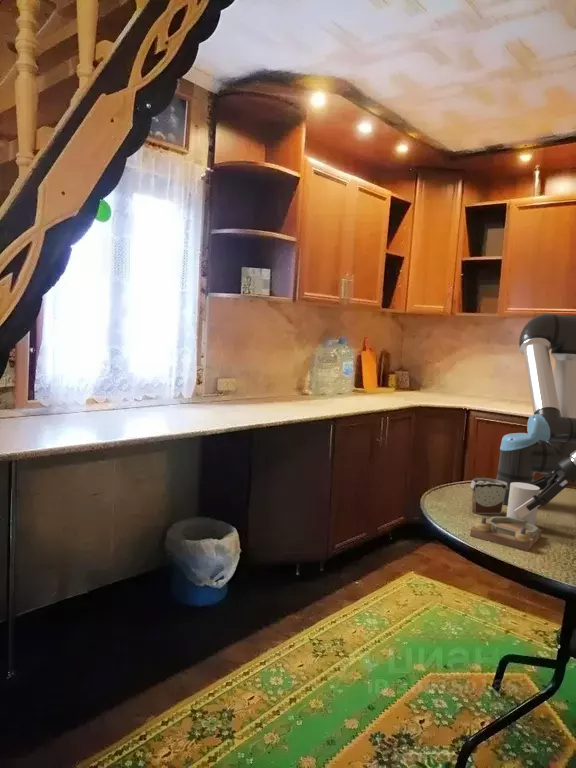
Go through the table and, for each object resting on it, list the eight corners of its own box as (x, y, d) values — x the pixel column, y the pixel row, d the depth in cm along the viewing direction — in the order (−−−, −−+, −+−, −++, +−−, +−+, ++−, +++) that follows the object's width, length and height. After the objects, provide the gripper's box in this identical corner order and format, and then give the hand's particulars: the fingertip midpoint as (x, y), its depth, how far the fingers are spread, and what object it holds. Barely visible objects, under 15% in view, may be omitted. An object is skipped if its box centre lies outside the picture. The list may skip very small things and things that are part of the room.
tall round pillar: (511, 518, 179) (515, 480, 178) (538, 526, 174) (543, 487, 173) (501, 524, 173) (506, 484, 172) (530, 532, 168) (535, 491, 166)
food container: (493, 507, 190) (497, 477, 189) (505, 513, 184) (508, 482, 183) (460, 507, 187) (463, 477, 186) (470, 513, 181) (474, 482, 180)
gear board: (487, 522, 173) (489, 505, 172) (540, 536, 164) (543, 518, 164) (470, 535, 160) (472, 517, 159) (527, 551, 151) (529, 531, 151)
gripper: (595, 486, 155) (528, 531, 161) (579, 467, 178) (521, 507, 184) (575, 464, 156) (509, 509, 162) (562, 448, 180) (505, 488, 185)
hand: (515, 508), depth 173 cm, fingers open, 13 cm apart
